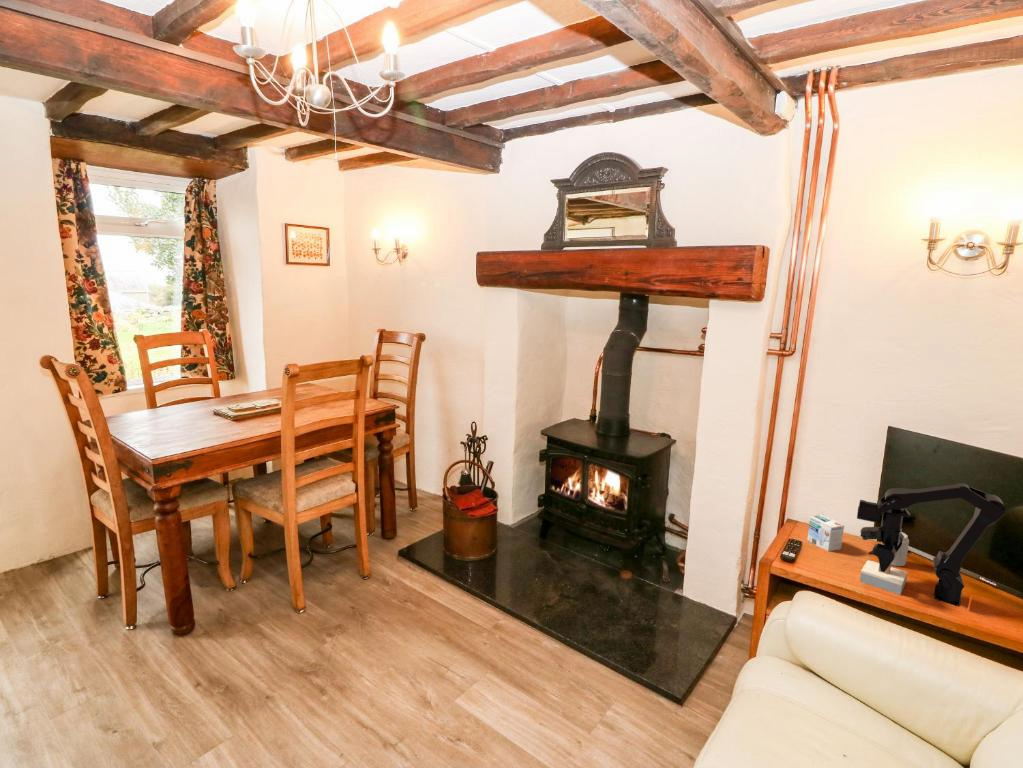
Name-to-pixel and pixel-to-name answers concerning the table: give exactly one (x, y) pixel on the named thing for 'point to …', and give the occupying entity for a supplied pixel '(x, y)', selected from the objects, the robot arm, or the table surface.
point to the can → (901, 553)
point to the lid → (888, 575)
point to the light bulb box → (825, 533)
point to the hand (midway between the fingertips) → (885, 566)
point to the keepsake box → (882, 583)
